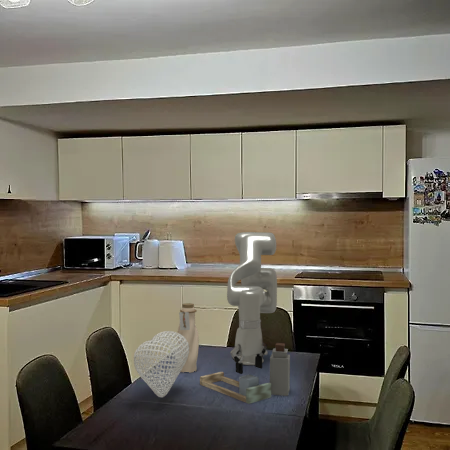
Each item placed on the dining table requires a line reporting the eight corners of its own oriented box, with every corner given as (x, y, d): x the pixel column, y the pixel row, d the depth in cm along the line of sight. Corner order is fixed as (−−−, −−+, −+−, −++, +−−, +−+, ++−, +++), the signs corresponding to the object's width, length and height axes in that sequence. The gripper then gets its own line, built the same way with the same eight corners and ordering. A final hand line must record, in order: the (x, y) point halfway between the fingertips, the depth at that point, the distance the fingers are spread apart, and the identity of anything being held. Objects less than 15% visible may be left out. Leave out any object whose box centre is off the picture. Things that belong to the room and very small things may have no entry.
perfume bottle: (287, 395, 201) (288, 346, 201) (269, 394, 202) (270, 345, 202) (289, 390, 208) (290, 342, 207) (271, 388, 209) (272, 341, 209)
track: (221, 379, 221) (221, 366, 220) (271, 397, 199) (271, 383, 199) (199, 384, 213) (199, 371, 213) (248, 403, 192) (249, 389, 192)
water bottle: (197, 374, 227) (198, 306, 226) (175, 374, 227) (176, 306, 226) (199, 367, 237) (199, 302, 236) (178, 367, 237) (178, 302, 237)
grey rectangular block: (249, 393, 204) (249, 374, 204) (258, 396, 200) (258, 377, 200) (239, 395, 201) (239, 376, 200) (248, 399, 197) (248, 380, 197)
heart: (170, 412, 183) (170, 346, 183) (126, 408, 187) (127, 343, 186) (193, 386, 211) (193, 328, 210) (154, 383, 214) (155, 326, 213)
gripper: (259, 318, 208) (258, 363, 209) (224, 325, 197) (224, 372, 198) (273, 322, 203) (273, 368, 204) (238, 329, 191) (238, 378, 192)
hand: (249, 370), depth 201 cm, fingers open, 9 cm apart
